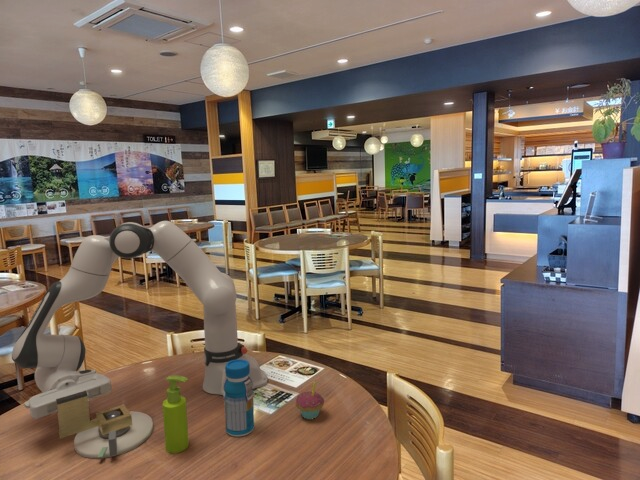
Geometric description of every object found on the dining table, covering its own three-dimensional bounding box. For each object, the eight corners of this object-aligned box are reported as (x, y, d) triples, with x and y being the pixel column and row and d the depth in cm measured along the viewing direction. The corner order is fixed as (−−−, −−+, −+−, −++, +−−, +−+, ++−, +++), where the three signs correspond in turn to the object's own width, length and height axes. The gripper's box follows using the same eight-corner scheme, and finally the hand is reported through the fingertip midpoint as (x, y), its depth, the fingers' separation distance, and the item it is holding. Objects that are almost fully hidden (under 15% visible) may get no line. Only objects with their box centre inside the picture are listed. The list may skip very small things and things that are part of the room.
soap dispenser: (185, 455, 112) (180, 383, 109) (161, 451, 113) (156, 381, 110) (196, 441, 118) (191, 373, 115) (173, 438, 119) (168, 371, 116)
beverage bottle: (229, 441, 118) (226, 372, 115) (221, 425, 125) (218, 361, 122) (258, 432, 121) (256, 366, 118) (249, 418, 129) (247, 355, 126)
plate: (161, 414, 131) (160, 396, 130) (136, 461, 110) (134, 439, 109) (94, 417, 130) (93, 399, 129) (55, 465, 108) (53, 444, 107)
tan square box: (134, 421, 125) (133, 405, 124) (123, 438, 117) (122, 421, 116) (106, 423, 124) (104, 407, 124) (93, 439, 116) (92, 423, 116)
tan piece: (124, 413, 126) (121, 375, 124) (132, 424, 120) (128, 385, 118) (57, 436, 115) (53, 395, 113) (62, 449, 109) (57, 406, 107)
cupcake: (328, 411, 132) (328, 375, 130) (316, 426, 124) (316, 387, 122) (303, 405, 135) (302, 370, 134) (290, 419, 128) (289, 382, 126)
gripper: (20, 391, 117) (35, 410, 107) (99, 366, 131) (118, 381, 122) (23, 413, 118) (38, 433, 108) (101, 386, 132) (119, 401, 123)
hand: (81, 405), depth 115 cm, fingers closed
